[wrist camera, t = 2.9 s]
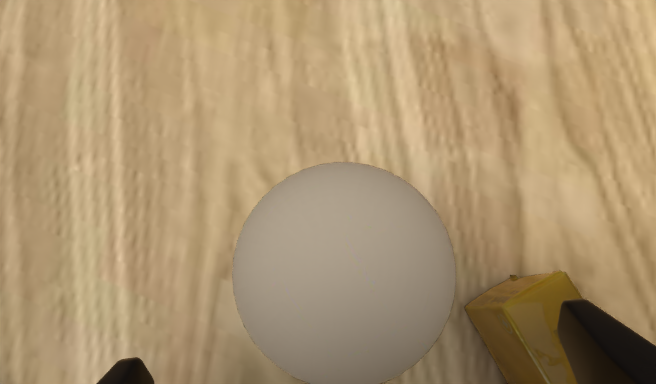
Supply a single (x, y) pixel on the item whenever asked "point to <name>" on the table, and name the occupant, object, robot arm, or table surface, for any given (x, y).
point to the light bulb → (344, 275)
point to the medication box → (526, 327)
